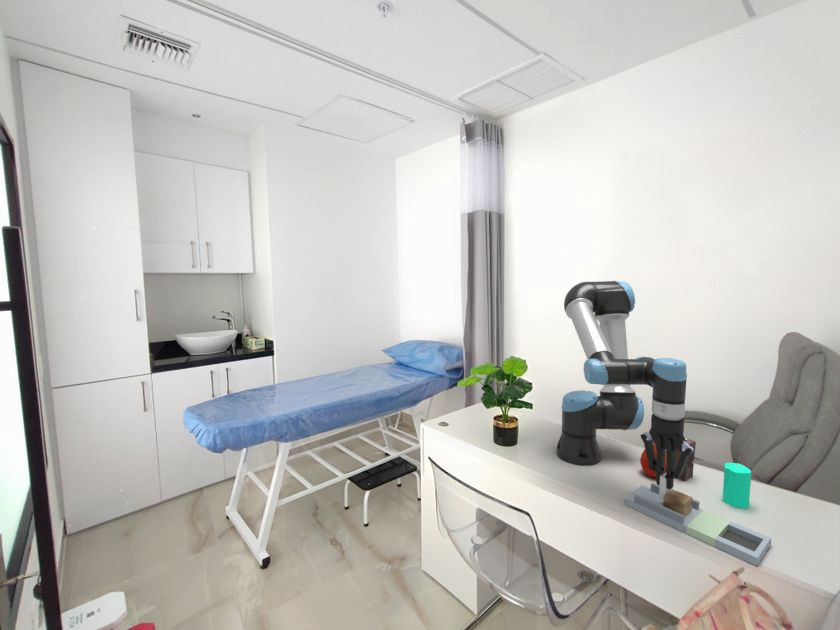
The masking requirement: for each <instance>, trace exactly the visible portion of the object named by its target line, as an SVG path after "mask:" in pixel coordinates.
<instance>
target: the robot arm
mask: <svg viewBox="0 0 840 630" xmlns="http://www.w3.org/2000/svg"><path fill="white" fill-rule="evenodd" d="M635 303H636V297H635V292H634V290H633V288H632V286H631V285H630V284H629V283H628V282H627V281H623V280H622V281H617V280H608V281H605V280H603V281H581V282H579V283H577V284H575V285H574V286H573V287H571V288H570V290H569V291H568V292H566V294H565V297H564V301H563V307H564V312H565V315H566V316H567V317H568V319H570V320H571V321H572V324H573V327H574V329H575V332H576V334H577V336H578V339H579V341H580V344H581V347H582V349H583V352H584V355H585V357H586V360H585V361H584V363H583V374H584V375H583V376H584V379H585V381H586V382H587V383H588V384H590V385H591V384H592V385H601V386H603V387H602V388H600V390H599V395H598V394H597V393H596V392H593V391H590V390H582V389H581V390H573V391H570V392H568V393H566V394H564V395H563V397H562V400H561V401H562V402H561V434H560V437H559V439H558V441H557V445H556V447H555V448H556V451H555V452H556V453H555V454H556V455H557V456H558V458H560V459H561V460H563V461H565V462H568V463H570V464H573V465H574V464H575V465H579V466H581V465H582V466H592V465H595V464H598V463H600V462H601V460H602V452H601V450H600V445H599V442H598V439H597V430H618V431H620V430H622V431H628V430H637V429H638V428H640V427H641V425H642V424H643V422H644V417H645V407H644V406H645V405H644V403H643V399H642V398H641V397H640V396H637V395H636V394H637V393H636V391H635V390H634V389H633V388H632V387H631V385H633V386H634V385H636V386H637V385H640V386H644V385H647V386H649V387H651V388H652V396H651V397H652V398H651V399H652V400H651V401H652V403H651V412H652V414H651V419H650V420H651V422H650V423H651V425H650V427H651V428H650V429H649V432H643V433H642V434H640V438H641V441H642V442H643V444H644V450H646V455H647V460H648V464H649V468H650V469H651V470H654V471H655V472H656V474H657V476H656V478H655V479H656V480H655V482H656V483H655V484H657V485H659V486H660V489H659V498H660V499H662V500H663V499H664V495H665V494H666V493H667V492H669V491H670V490H671V489H673V488H674V485H675V484H674V482H675V479H676V480H679V479H678V478H680V477H681V476H682V475H683V472H684V469H685V467H686V464H687V461H688V458H689V456H690V454H691V453H692V452H693V451H694V450H695V451H696V447H695V448H694V447H693V446H689V445H688V444H687V443H686V442H685V436H684V432H685V419H684V417H685V413H686V411H685V408H686V393H687V392H686V391H687V378H688V373H687V364H686V362H685V361H684V360H682V359H676V358H673V357H659V358H656V359H655V358H653V357H649V356H645V355H644V356H638V357H636V358H629V353H628V341H627V340H628V339H627V327H626V320H627V319H628V318H629V317H630V313H631V312H633V310H634V309H635ZM653 441H654V442H653ZM653 444H656V450H657V457H656V456H655V451H654V446H653ZM681 445H682V451H683V453H682V454H681V456H680V459H679V462H678V465H677V467H676V470H675V458H676V451H677V449H678V448H679V447H680V446H681ZM665 452H666V454H667V464H666V470H665ZM665 471H666V473H664V472H665Z"/></svg>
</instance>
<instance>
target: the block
mask: <svg viewBox="0 0 840 630" xmlns="http://www.w3.org/2000/svg"><path fill="white" fill-rule="evenodd" d="M692 499H693V497H692V496H690V495H688V494H685V493H684V492H683V493H682V492H680V491H678V490H675V489H673V488H672V489H671V490H670V491H669V492H667V493H666V494H665V495H664V499H663V506H664V507H666V508H668V509H671V510H673V511H675V512H678V513H680V514H682V515H684V517H686V516H687V515H688V514H689V513H690V512H691V511H692Z"/></svg>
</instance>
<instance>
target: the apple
mask: <svg viewBox="0 0 840 630" xmlns="http://www.w3.org/2000/svg"><path fill="white" fill-rule="evenodd" d="M653 446H654V451H655V456H656V457H657V450H656V443H653ZM639 460H640V462H639V463H640V465H641V468H642V471H643V472H644V473H645V475H646V476H649V477H650V478H655V479H656V476H657V474H656V472H655V471H654V470H651V469H650V468H649V464H648V460H647V455H646V450H645V449H644V450H643V451H642V453H641V455H640V459H639ZM666 464H667V454H666V451H665V470H666ZM664 473H666V471H665V472H664Z"/></svg>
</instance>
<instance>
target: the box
mask: <svg viewBox="0 0 840 630" xmlns="http://www.w3.org/2000/svg"><path fill="white" fill-rule="evenodd" d="M684 438H685V437H684ZM685 442H686V443H687V444H688V445H689V446H693V447H694V448H695V450H694V451H693V452H692V453H691V454H690V456H689V458H688V461H687V464H686V467H685V469H684V472H683V475H682V476H681V477H680V478H678V479H677V480H679V481H682V482H686V481H687V480H689V479H691V478H692V477H693V474H694V466H695V465H694V464H695V453H696V443H697V442H696V441H695V440H692V439H690V438H689V439H688V438H685ZM682 453H683V451H682V445H681V446H680V447H679V448H678V449H677V451H676V458H675V470H676V467H677V465H678V462H679V459H680V456H681V454H682Z"/></svg>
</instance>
